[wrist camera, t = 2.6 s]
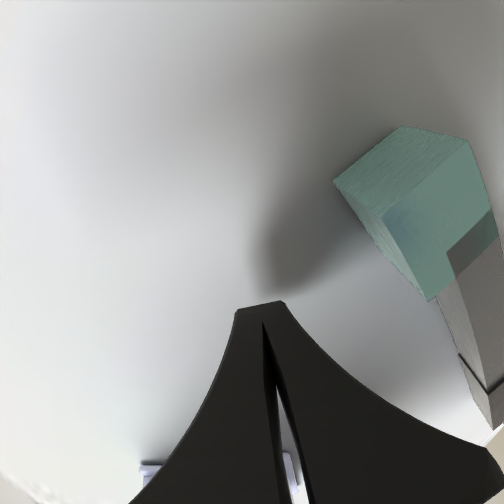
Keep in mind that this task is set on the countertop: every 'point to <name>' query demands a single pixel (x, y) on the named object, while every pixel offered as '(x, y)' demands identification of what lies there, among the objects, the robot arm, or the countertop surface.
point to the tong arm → (439, 242)
